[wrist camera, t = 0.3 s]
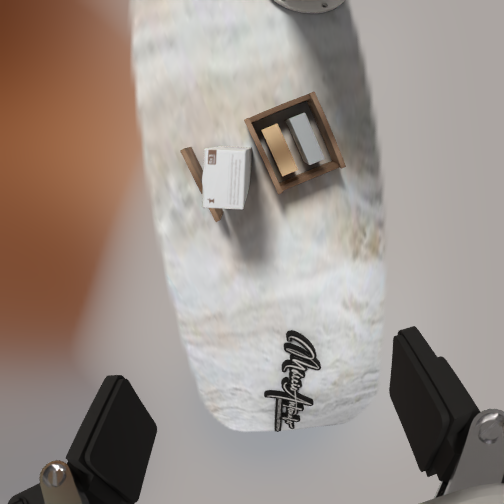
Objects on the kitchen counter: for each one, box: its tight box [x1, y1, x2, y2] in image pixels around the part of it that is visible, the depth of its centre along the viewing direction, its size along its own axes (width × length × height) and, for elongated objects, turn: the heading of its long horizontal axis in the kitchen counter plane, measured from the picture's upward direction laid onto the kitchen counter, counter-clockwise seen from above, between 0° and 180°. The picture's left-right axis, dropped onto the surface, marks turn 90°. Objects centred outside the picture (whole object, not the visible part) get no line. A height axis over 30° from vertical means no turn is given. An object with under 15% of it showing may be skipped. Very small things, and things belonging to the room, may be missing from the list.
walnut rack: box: [181, 92, 346, 222], centre depth 38 cm, size 10×18×4 cm, turn 115°
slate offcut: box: [285, 113, 325, 165], centre depth 36 cm, size 6×2×5 cm, turn 25°
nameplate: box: [264, 330, 321, 432], centre depth 54 cm, size 27×2×10 cm
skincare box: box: [202, 146, 252, 210], centre depth 35 cm, size 6×4×12 cm
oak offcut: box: [261, 124, 298, 176], centre depth 37 cm, size 6×2×5 cm, turn 24°
